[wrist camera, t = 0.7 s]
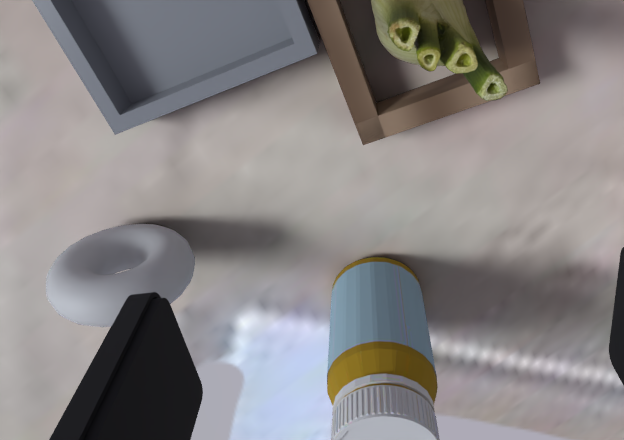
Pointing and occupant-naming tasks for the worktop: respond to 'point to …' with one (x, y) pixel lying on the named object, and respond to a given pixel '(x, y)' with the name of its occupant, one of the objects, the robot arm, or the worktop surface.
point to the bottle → (380, 355)
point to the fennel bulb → (437, 40)
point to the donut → (114, 258)
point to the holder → (434, 96)
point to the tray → (174, 49)
